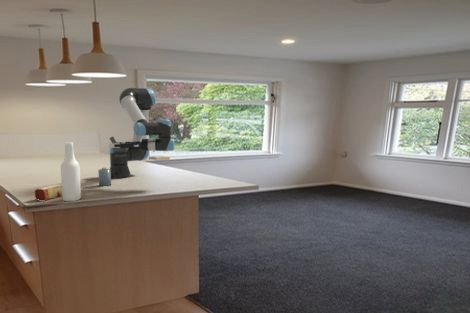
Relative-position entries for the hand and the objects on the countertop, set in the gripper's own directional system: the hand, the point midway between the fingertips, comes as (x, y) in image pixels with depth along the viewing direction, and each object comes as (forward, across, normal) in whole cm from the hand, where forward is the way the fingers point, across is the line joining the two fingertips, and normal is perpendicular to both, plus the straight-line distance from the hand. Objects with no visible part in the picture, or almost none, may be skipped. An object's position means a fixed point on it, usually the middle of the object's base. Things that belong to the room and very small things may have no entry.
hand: (111, 144), depth 204 cm
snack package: (+23, -24, -26) cm, 43 cm away
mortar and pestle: (-4, 0, -7) cm, 8 cm away
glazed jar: (+6, +3, -26) cm, 27 cm away
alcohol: (+12, -32, -26) cm, 43 cm away
